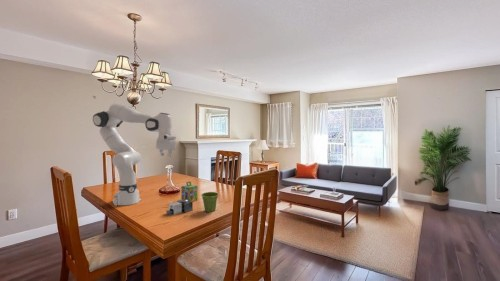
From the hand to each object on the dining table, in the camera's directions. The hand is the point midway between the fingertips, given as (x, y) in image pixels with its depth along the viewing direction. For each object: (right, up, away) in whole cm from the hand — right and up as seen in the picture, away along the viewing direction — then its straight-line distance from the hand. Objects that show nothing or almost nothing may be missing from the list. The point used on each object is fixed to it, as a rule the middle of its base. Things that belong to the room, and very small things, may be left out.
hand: (165, 156), depth 162 cm
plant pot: (+31, -38, -2) cm, 49 cm away
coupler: (+10, -37, -5) cm, 39 cm away
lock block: (+9, -38, -6) cm, 39 cm away
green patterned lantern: (+11, -37, +21) cm, 44 cm away
